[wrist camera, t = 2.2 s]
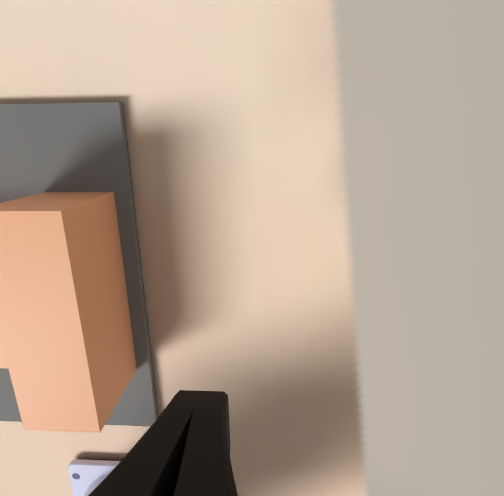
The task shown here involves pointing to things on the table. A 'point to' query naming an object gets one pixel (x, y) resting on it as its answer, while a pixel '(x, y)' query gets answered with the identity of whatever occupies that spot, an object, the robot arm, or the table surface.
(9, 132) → the mat
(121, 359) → the t block
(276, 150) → the table surface
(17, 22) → the table surface
